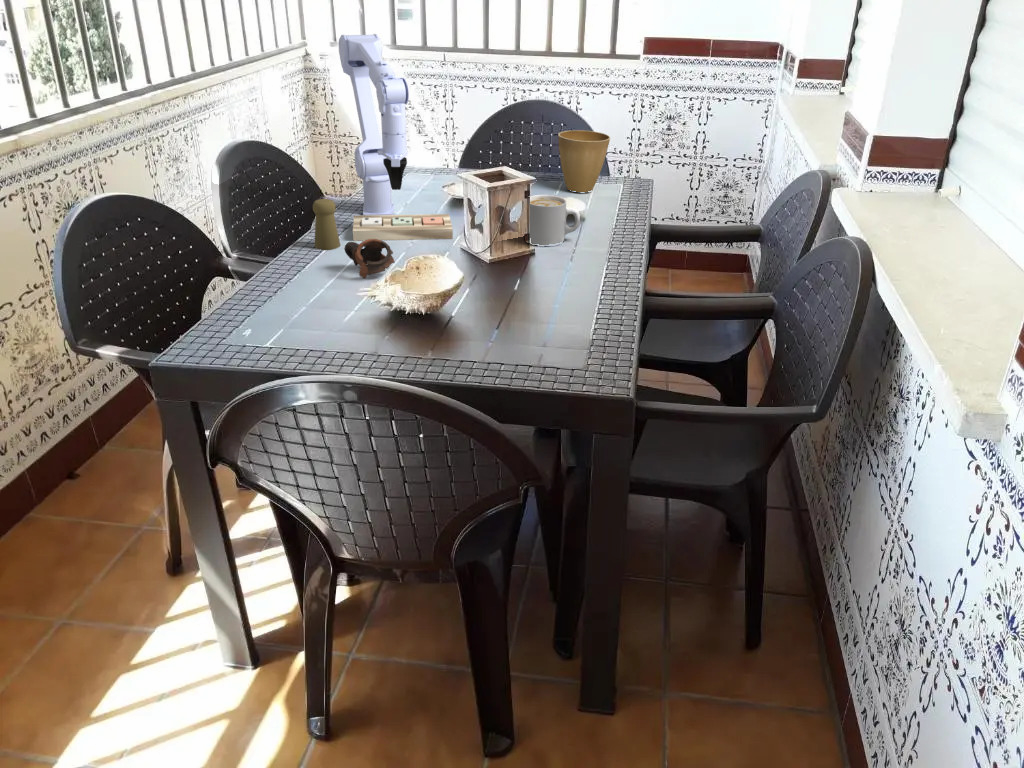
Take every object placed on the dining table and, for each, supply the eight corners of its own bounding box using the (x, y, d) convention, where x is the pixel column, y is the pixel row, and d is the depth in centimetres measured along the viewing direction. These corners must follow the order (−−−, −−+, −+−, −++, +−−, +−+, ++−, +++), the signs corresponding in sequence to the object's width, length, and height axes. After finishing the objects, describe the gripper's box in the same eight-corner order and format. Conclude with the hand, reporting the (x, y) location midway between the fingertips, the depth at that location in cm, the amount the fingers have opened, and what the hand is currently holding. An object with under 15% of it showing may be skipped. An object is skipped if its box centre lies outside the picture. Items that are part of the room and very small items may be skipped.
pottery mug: (401, 267, 185) (401, 243, 178) (383, 297, 180) (382, 273, 173) (353, 248, 186) (351, 223, 179) (333, 277, 182) (331, 253, 174)
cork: (343, 242, 197) (340, 197, 192) (336, 250, 192) (332, 204, 186) (318, 240, 198) (314, 195, 192) (311, 249, 192) (306, 203, 187)
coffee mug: (520, 245, 199) (522, 204, 194) (527, 232, 207) (529, 193, 202) (575, 250, 197) (578, 209, 192) (580, 236, 205) (583, 197, 200)
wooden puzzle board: (354, 225, 208) (354, 215, 207) (449, 223, 212) (448, 214, 210) (353, 240, 198) (352, 230, 197) (452, 238, 201) (452, 228, 200)
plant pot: (590, 200, 233) (594, 143, 226) (545, 191, 240) (548, 135, 233) (614, 189, 244) (619, 134, 237) (570, 180, 251) (574, 127, 244)
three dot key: (393, 229, 207) (392, 216, 205) (412, 228, 207) (411, 216, 206) (393, 235, 202) (392, 222, 201) (412, 234, 203) (412, 222, 202)
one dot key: (422, 228, 208) (422, 216, 206) (441, 228, 208) (441, 215, 207) (423, 234, 204) (423, 222, 202) (443, 234, 204) (442, 221, 203)
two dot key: (362, 229, 206) (362, 217, 204) (382, 229, 206) (381, 216, 205) (362, 235, 201) (361, 223, 200) (382, 235, 202) (381, 222, 201)
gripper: (376, 125, 200) (379, 181, 207) (376, 139, 188) (379, 197, 195) (405, 125, 201) (407, 180, 208) (407, 139, 189) (409, 197, 195)
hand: (396, 188), depth 201 cm, fingers closed
